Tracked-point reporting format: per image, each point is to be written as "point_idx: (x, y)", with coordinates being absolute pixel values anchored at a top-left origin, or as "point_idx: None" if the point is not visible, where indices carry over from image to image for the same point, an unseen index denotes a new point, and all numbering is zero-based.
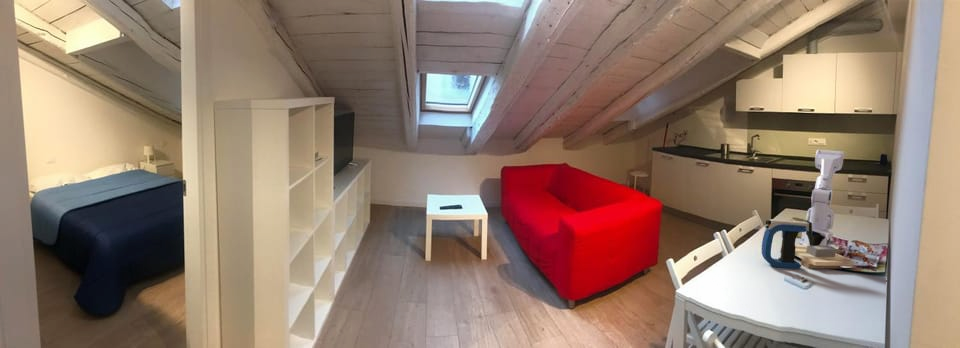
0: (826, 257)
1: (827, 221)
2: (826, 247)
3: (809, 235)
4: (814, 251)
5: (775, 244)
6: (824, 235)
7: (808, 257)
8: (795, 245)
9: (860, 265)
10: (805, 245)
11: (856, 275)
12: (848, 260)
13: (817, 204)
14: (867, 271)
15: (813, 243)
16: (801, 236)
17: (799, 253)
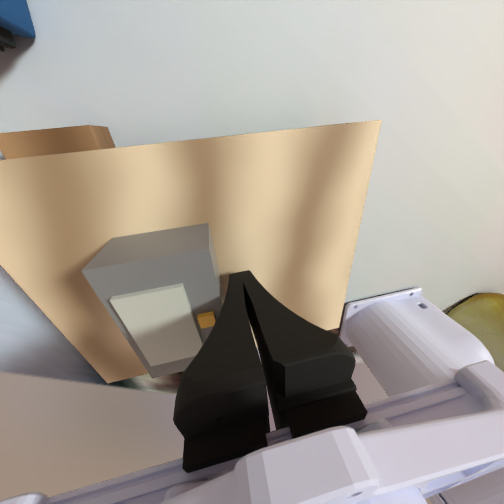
0: None
1: (453, 491)
2: (175, 352)
3: (272, 343)
4: (110, 254)
5: (447, 180)
6: (101, 497)
7: (61, 173)
8: (348, 225)
9: None
10: (339, 279)
11: (46, 334)
12: (120, 367)
13: None
14: None
15: (222, 307)
16: (454, 316)
17: (164, 150)
